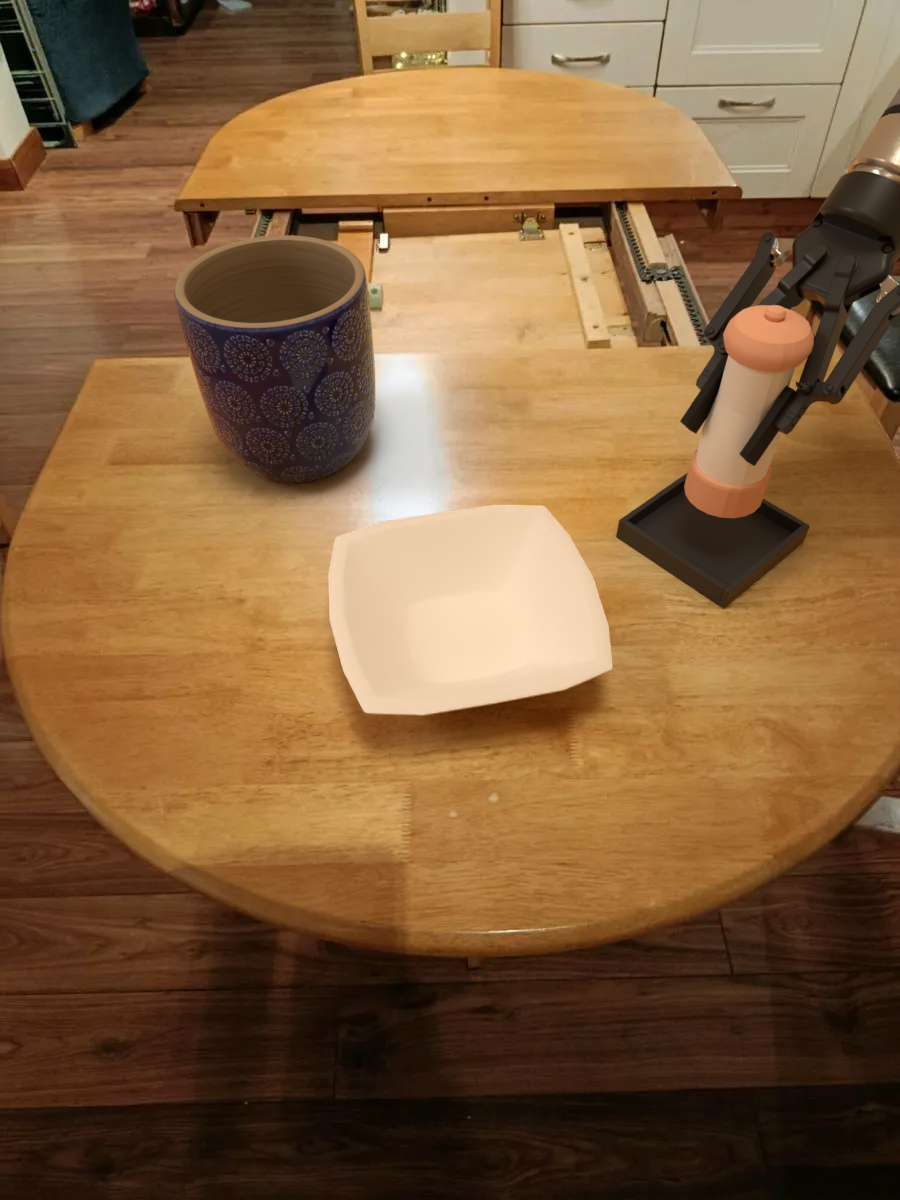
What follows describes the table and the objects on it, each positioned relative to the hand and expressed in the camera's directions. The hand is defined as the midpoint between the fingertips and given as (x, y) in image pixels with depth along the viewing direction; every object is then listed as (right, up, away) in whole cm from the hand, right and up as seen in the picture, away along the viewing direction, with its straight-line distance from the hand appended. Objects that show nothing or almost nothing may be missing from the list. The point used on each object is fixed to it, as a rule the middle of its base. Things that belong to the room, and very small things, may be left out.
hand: (717, 443), depth 73 cm
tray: (+3, -8, +12) cm, 14 cm away
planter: (-40, +3, +23) cm, 46 cm away
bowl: (-22, -17, +4) cm, 28 cm away
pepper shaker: (+3, -4, +8) cm, 9 cm away
